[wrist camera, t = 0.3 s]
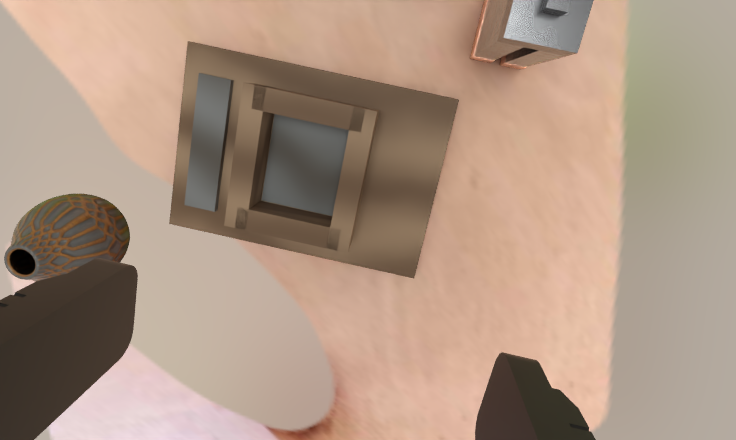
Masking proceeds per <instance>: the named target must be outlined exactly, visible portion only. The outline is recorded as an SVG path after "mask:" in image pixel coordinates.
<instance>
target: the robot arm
mask: <svg viewBox="0 0 736 440" xmlns="http://www.w3.org/2000/svg"><path fill="white" fill-rule="evenodd" d="M137 277H138V276H137V270H136V268H135V267H134V266H132V265H127V264H123V263H119V262H115V261H110V260H106V259H102V258H96V259H93V260H91V261H90V262H88V263H86V264H84V265H82V266H80V267H78V268H77V269H75V270H73V271H71V272H69V273H67V274H62V275H59V276H55V277H51V278H47V279H43V280H39V281H36V282H34V283H33V284H31V285H29V286H27V287H25V288H23V289H21V290H19V291H17V292H15V295H9V296H7V297H5V298H3V299H2V300H0V440H34V439H35V438H36V437H37V436H38V435H39V434H40V433H41V432H43V431H44V430H45V429H46V428H47V427H48V426H49V425H50V424H51V423H52V422H53V421H54V420H55V419H57V418H58V417H59V416H60V415H61V414H62V413H63V412H64V411H65V410H66V409H67V408H68V407H69V406H70V405H71V404H73V403H74V402H75V401H76V400H77V399H78V398H79V397H80V396H81V395H82V394H83V393H84V392H85V391H86V390H87V389H89V388H90V387H91V386H92V385H93V384H94V383H95V382H96V381H97V380H98V379H99V378H100V377H101V376H102V375H103V374H105V373H106V372H107V371H108V370H109V369H110V368H111V367H112V366H113V365H114V364H115V363H116V362H117V361H118V360H119V359H120V358H121V357H122V356H123V355H124V353H125V351H126V350H127V348H128V346H129V343H130V341H131V338H132V333H133V325H134V315H135V302H136V290H137ZM475 440H595V438H594V436H593V434H592V432H589V427H588V425H587V423H586V421H585V420H584V418H583V416H582V414H581V412H580V410H579V409H578V408H577V407H576V406H575V405H574V404H573V403H572V402H571V401H570V400H569V399H568V398H567V397H566V396H565V395H564V394H563V393H562V392H561V391H560V390H558V389H554V388H551V386H550V384H549V382H548V380H547V378H546V376H545V374H544V372H543V369H542V367H541V365H540V364H539V362H538V361H537V360H533V359H528V358H524V357H520V356H516V355H511V354H507V353H500V354H499V355H498V357H497V359H496V361H495V364H494V367H493V370H492V373H491V376H490V379H489V382H488V385H487V388H486V391H485V394H484V397H483V400H482V403H481V406H480V409H479V412H478V416H477V421H476V430H475Z"/></svg>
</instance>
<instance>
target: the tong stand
mask: <svg viewBox="0 0 736 440" xmlns="http://www.w3.org/2000/svg"><path fill="white" fill-rule="evenodd" d="M458 101H459V100H458V99H454V98H449V97H444V96H440V95H435V94H430V93H426V92H421V91H416V90H412V89H407V88H402V87H398V86H393V85H389V84H384V83H379V82H375V81H370V80H365V79H361V78H356V77H351V76H347V75H342V74H337V73H333V72H328V71H324V70H319V69H314V68H310V67H305V66H300V65H296V64H291V63H286V62H282V61H277V60H272V59H268V58H263V57H258V56H254V55H249V54H245V53H240V52H235V51H231V50H226V49H221V48H217V47H212V46H207V45H203V44H198V43H193V42H189V41H188V45H187V55H186V64H185V74H184V84H183V94H182V104H181V114H180V124H179V134H178V144H177V154H176V164H175V174H174V184H173V194H172V203H171V214H170V224H173V225H177V226H182V227H186V228H191V229H196V230H200V231H204V232H209V233H214V234H218V235H222V236H227V237H231V238H236V239H240V240H245V241H249V242H254V243H258V244H263V245H267V246H271V247H276V248H280V249H285V250H289V251H294V252H298V253H303V254H307V255H312V256H316V257H321V258H325V259H330V260H334V261H339V262H343V263H348V264H352V265H357V266H361V267H366V268H370V269H375V270H379V271H383V272H388V273H392V274H397V275H401V276H406V277H410V278H414V276H415V272H416V268H417V264H418V260H419V256H420V252H421V248H422V244H423V240H424V236H425V232H426V228H427V224H428V220H429V216H430V213H431V209H432V205H433V201H434V197H435V193H436V189H437V185H438V181H439V177H440V173H441V169H442V165H443V161H444V157H445V153H446V149H447V145H448V141H449V137H450V133H451V129H452V125H453V121H454V117H455V113H456V109H457V105H458Z"/></svg>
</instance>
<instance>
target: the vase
mask: <svg viewBox="0 0 736 440" xmlns="http://www.w3.org/2000/svg"><path fill="white" fill-rule="evenodd" d="M129 240H130V233H129V227H128V224H127V222H126V219H125V218H124V216H123V214H122V213H121V212H120V211H119V210H118V209H117V208H116V207H115V206H114V205H113V204H111V203H110V202H109V201H107V200H105V199H102V198H100V197H97V196H93V195H87V194H68V195H62V196H58V197H54V198H51V199H48V200H46V201H44V202H42V203H40V204H38V205H37V206H35V207H34V208H32V209H31V210H30V211H29V212H27V213H26V214H25V215H24V216H23V217H22V219H21V220H20V221H19V223H18V224H17V226H16V228H15V230H14V233H13V237H12V241H11V246H10V247H9V248H8V249H7V251H6V253H5V257H4V261H5V265H6V267H7V269H8V270H9V272H10V273H11V274H13V275H14V276H15V277H17V278H20V279H26V280H33V281H39V280H43V279H47V278H51V277H55V276H59V275H62V274H67V273H69V272H71V271H73V270H75V269H77V268H78V267H80V266H82V265H84V264H86V263H88V262H90V261H91V260H93V259H96V258H102V259H106V260H110V261H115V262H119V263H120V261H121V260H122V258H123V257H124V255H125V253H126V251H127V248H128V245H129Z"/></svg>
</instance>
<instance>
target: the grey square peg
mask: <svg viewBox="0 0 736 440" xmlns="http://www.w3.org/2000/svg"><path fill="white" fill-rule="evenodd" d="M593 1H594V0H484V4H483V8H482V12H481V16H480V20H479V24H478V28H477V32H476V35H475V39H474V43H473V47H472V51H471V55H470V59H474V60H478V61H483V62H488V63H491V62H494V60H496V59H498V58H500V57H502V58H501V62H500V65H502V66H506V67H511V68H516V69H524V68H526V67H527V66H531V65H535V64H539V63H542V62H546V61H550V60H554V59H557V58H561V57H565V56H569V55H572V54H576V53H578V49H579V46H580V43H581V40H582V36H583V33H584V30H585V27H586V23H587V20H588V17H589V14H590V10H591V7H592V4H593Z"/></svg>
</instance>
